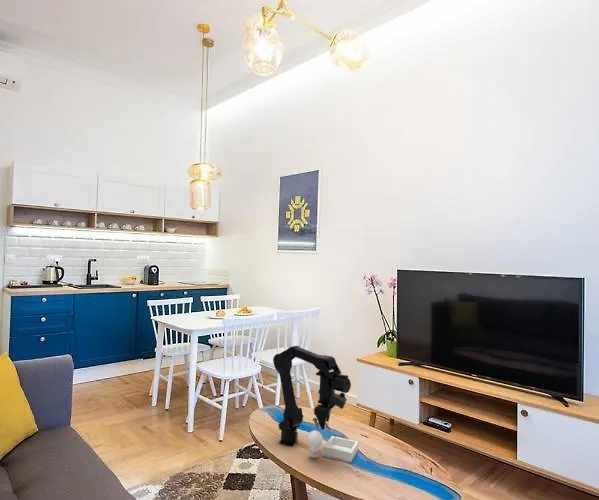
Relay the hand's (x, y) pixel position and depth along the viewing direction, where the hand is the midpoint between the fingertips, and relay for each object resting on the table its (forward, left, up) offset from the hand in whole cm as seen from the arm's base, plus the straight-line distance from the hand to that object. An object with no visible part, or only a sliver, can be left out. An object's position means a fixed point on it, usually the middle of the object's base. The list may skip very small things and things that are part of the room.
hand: (325, 425), depth 174 cm
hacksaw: (-7, +29, -14) cm, 33 cm away
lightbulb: (-3, -2, -14) cm, 14 cm away
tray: (+6, +7, -13) cm, 16 cm away
